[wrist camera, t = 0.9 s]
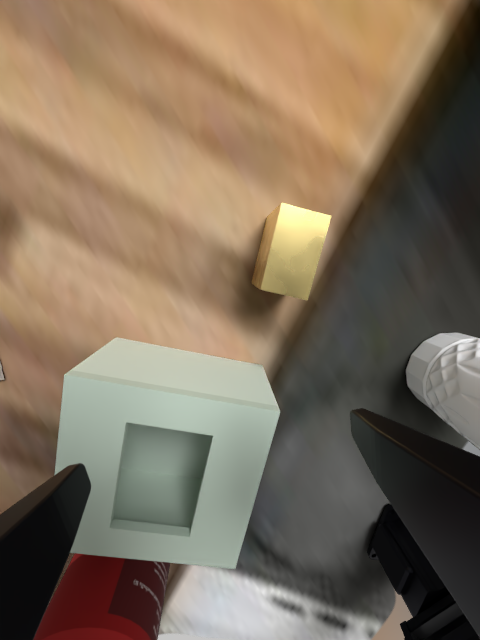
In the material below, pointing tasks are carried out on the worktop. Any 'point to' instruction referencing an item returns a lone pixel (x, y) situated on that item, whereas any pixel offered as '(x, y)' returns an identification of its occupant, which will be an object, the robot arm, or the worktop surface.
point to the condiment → (1, 373)
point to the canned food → (106, 600)
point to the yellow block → (290, 251)
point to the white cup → (449, 380)
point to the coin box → (166, 451)
